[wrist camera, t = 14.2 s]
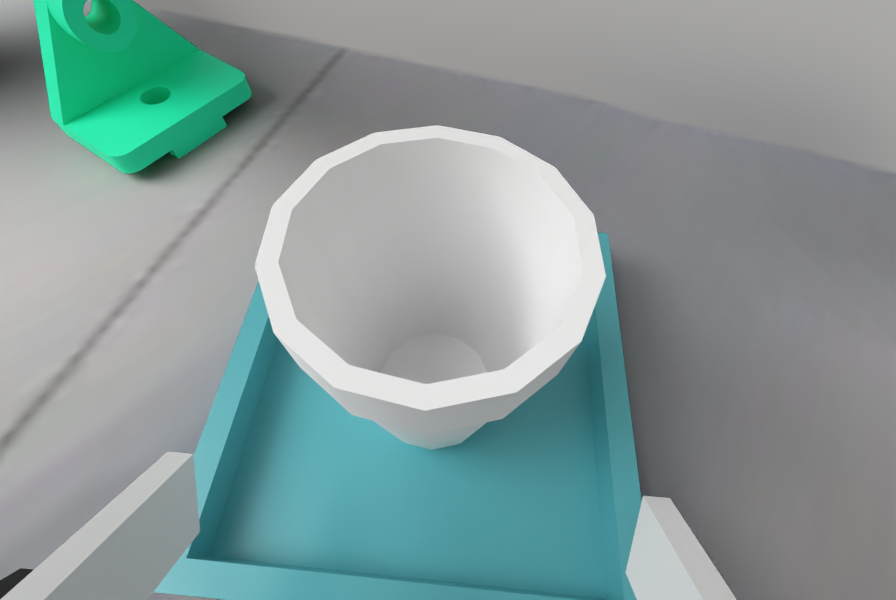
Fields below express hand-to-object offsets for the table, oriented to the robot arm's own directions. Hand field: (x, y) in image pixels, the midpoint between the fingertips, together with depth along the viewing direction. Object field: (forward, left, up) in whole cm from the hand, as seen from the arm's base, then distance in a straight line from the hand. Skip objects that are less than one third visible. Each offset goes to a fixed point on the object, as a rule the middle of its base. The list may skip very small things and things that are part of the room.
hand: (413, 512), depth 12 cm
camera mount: (-24, +27, -10) cm, 37 cm away
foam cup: (0, +6, -9) cm, 11 cm away
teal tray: (0, +7, -9) cm, 12 cm away
